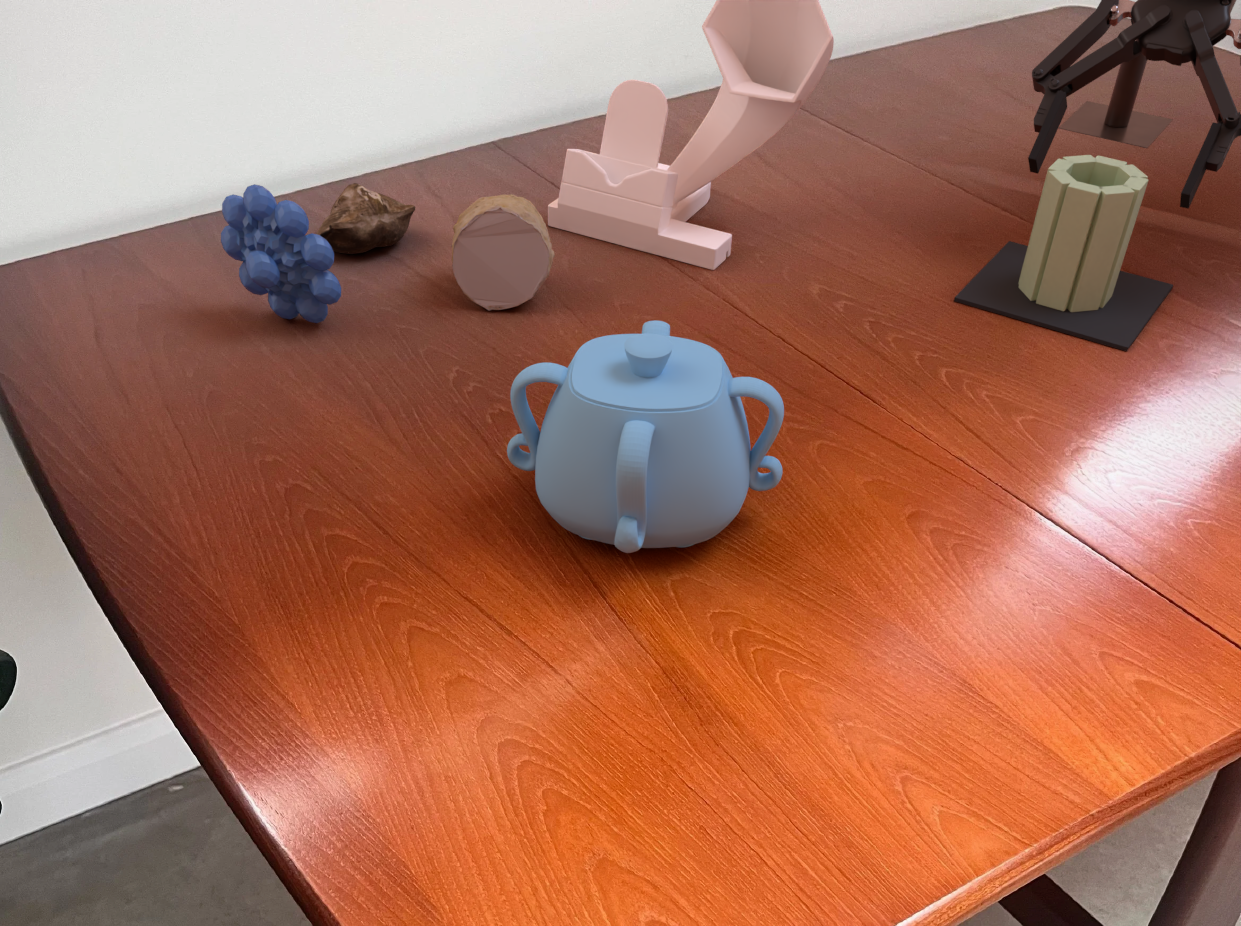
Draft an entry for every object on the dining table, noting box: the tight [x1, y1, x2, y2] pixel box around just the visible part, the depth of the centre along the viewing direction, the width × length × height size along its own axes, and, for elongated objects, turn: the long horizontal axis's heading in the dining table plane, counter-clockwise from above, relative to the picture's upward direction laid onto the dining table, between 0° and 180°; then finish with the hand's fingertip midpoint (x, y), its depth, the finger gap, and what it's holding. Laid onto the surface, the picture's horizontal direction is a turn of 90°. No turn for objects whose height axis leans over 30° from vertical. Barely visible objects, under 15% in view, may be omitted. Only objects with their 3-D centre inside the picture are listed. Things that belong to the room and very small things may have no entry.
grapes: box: [220, 184, 342, 324], centre depth 110 cm, size 12×7×12 cm, turn 66°
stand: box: [1058, 54, 1174, 149], centre depth 143 cm, size 10×10×10 cm
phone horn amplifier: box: [547, 0, 835, 271], centre depth 121 cm, size 25×16×25 cm, turn 59°
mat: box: [953, 240, 1174, 352], centre depth 119 cm, size 16×14×1 cm
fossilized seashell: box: [315, 182, 416, 255], centre depth 124 cm, size 8×7×10 cm
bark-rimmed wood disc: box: [451, 193, 555, 312], centre depth 115 cm, size 10×10×10 cm
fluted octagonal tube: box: [1018, 154, 1150, 312], centre depth 115 cm, size 8×8×11 cm
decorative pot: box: [506, 319, 785, 554], centre depth 90 cm, size 16×16×14 cm
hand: (1106, 183), depth 114 cm, fingers open, 13 cm apart
